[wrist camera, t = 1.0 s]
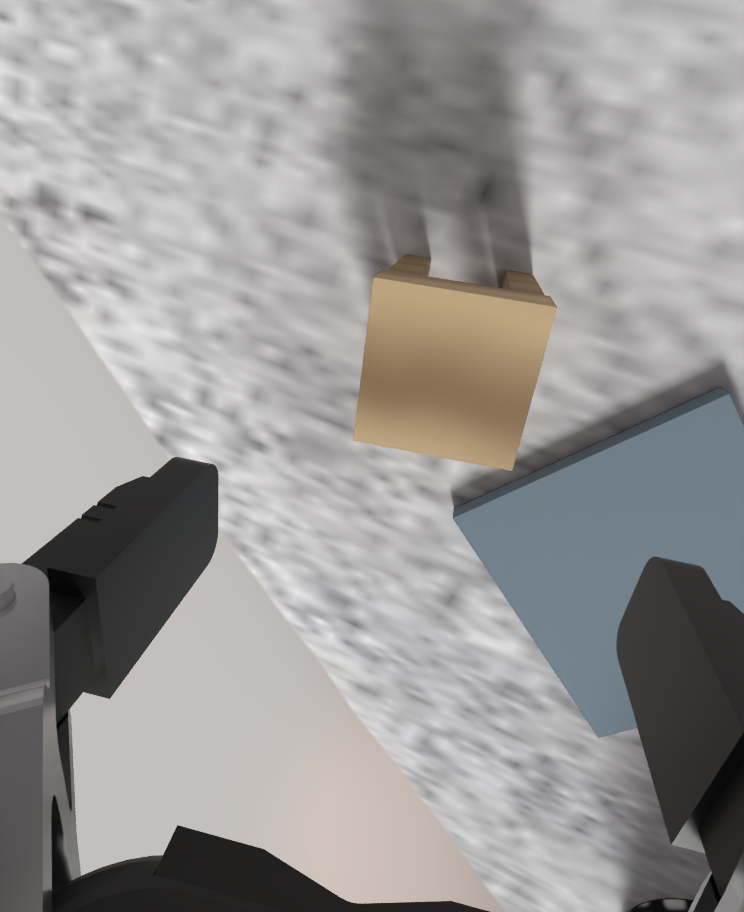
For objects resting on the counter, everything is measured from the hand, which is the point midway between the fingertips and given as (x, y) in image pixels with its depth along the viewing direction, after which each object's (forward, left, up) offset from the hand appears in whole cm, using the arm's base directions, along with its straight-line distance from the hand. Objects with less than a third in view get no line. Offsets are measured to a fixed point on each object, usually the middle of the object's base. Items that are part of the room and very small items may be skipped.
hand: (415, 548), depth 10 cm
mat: (+12, +13, -18) cm, 25 cm away
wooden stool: (0, 0, -18) cm, 18 cm away
